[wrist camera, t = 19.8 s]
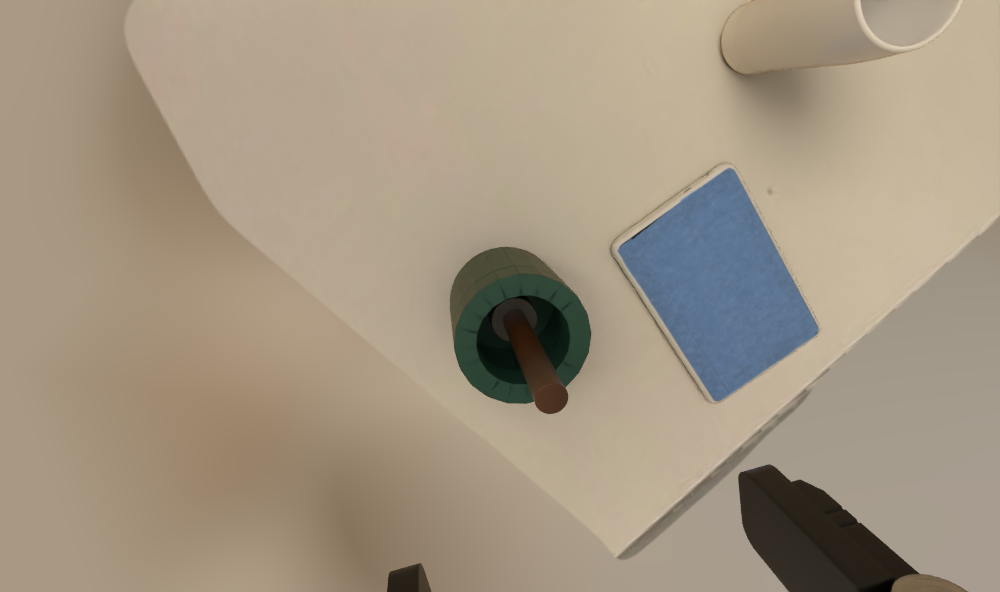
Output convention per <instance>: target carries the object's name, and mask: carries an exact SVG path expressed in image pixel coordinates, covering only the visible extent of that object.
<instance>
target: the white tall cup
mask: <svg viewBox="0 0 1000 592" xmlns="http://www.w3.org/2000/svg"><path fill="white" fill-rule="evenodd" d="M963 1H964V0H751V1H749V2H747V3H745V4H743V5H741V6H740V7H739V8H737V9H736V10H735V11H734V12H733V13H732V14H731V16H730V17H729V18H728V20H727V22H726V24H725V26H724V29H723V32H722V37H721V48H722V53H723V56H724V58H725V60H726V62H727V63H728V65H729V66H730V67H731V68H733V69H734V70H735V71H737V72H739V73H742V74H748V75H752V74H759V73H763V72H769V71H779V70H790V69H802V68H815V67H828V66H839V65H848V64H855V63H862V62H867V61H872V60H877V59H881V58H886V57H890V56H894V55H897V54H901V53H905V52H909V51H913V50H916V49H919V48H921V47H923V46H925V45H927V44H929V43H930V42H932V41H933V40H934V39H936V38H937V37H938V36H939V35H940V34H942V33H943V32H944V31H945V30H946V28H947V27H948V26H949V25H950V24H951V22H952V21H953V19H954V18H955V16H956V15H957V13H958V11H959V9H960V7H961V5H962V3H963Z"/></svg>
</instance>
